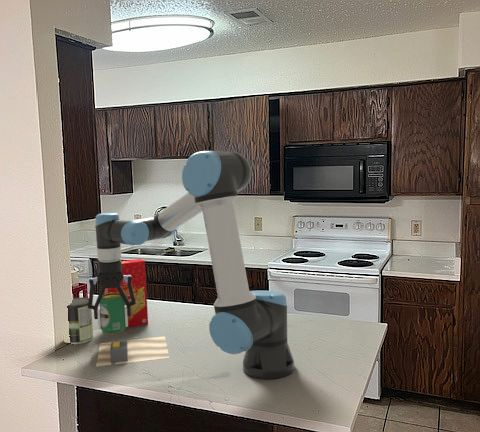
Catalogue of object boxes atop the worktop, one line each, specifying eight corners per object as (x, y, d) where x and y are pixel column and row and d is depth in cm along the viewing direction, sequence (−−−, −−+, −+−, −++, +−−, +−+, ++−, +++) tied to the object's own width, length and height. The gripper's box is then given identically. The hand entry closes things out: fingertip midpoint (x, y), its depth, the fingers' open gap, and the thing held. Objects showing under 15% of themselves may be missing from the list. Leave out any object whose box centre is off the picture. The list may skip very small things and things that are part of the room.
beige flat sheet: (169, 361, 150) (169, 357, 150) (96, 370, 145) (96, 366, 145) (165, 339, 169) (164, 336, 169) (100, 346, 165) (100, 343, 165)
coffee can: (64, 346, 166) (61, 306, 164) (62, 337, 175) (60, 299, 174) (95, 341, 170) (92, 302, 169) (92, 332, 179) (89, 295, 178)
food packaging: (110, 331, 180) (106, 265, 178) (106, 327, 185) (102, 263, 182) (148, 324, 187) (144, 260, 185) (143, 320, 192) (140, 258, 190)
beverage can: (96, 331, 161) (94, 296, 160) (116, 324, 167) (114, 291, 166) (110, 336, 156) (108, 300, 155) (130, 329, 162) (128, 294, 161)
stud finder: (127, 360, 149) (126, 346, 148) (110, 362, 147) (110, 348, 147) (127, 352, 155) (127, 338, 155) (111, 354, 154) (111, 340, 154)
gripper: (141, 255, 165) (144, 320, 167) (77, 260, 160) (82, 326, 163) (142, 259, 157) (145, 327, 160) (75, 264, 153) (79, 333, 155)
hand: (113, 326), depth 161 cm, fingers closed on beverage can, 8 cm apart
